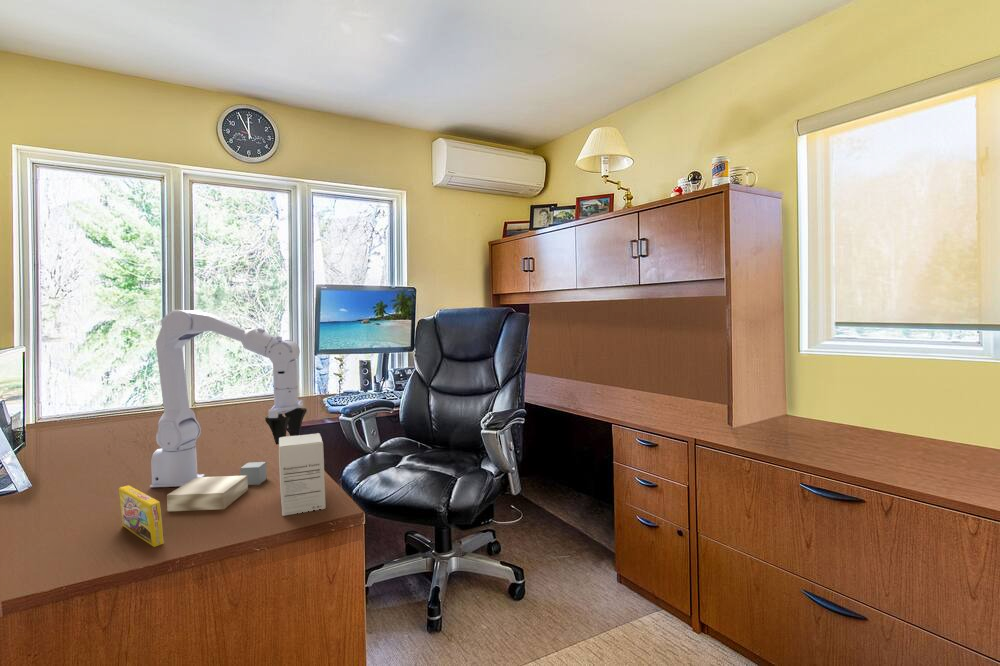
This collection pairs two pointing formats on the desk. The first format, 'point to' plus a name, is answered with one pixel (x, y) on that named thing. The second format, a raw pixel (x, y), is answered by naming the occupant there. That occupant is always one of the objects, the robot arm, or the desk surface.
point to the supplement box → (301, 473)
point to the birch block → (207, 493)
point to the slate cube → (254, 472)
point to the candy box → (141, 515)
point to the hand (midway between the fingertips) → (287, 440)
